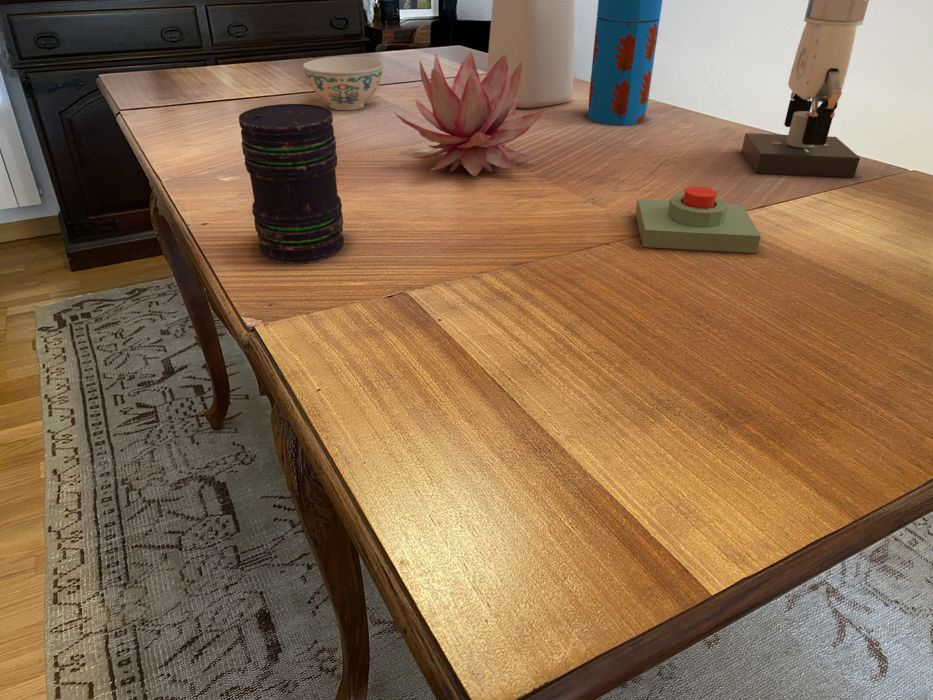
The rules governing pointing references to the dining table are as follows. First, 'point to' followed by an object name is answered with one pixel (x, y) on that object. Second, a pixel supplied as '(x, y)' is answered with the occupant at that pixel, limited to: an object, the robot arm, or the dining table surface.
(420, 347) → the dining table surface
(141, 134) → the dining table surface
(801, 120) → the temp dial
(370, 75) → the chinaware
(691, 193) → the power button
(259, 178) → the dark brown cylinder
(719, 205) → the switch block
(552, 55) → the plastic bottle
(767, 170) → the dial base
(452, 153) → the decorative flower
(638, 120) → the thermos
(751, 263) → the dining table surface
